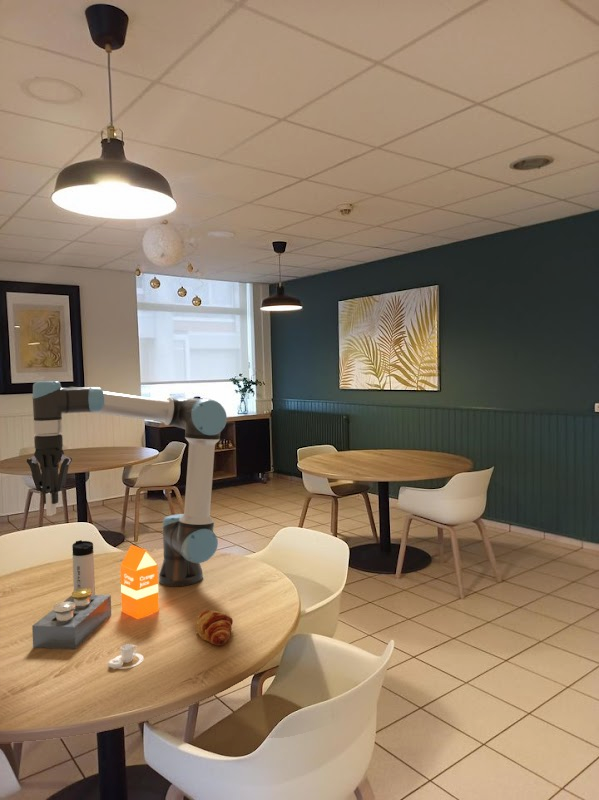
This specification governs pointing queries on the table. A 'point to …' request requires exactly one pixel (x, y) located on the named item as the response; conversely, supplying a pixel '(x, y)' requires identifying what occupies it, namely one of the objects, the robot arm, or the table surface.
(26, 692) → the table surface
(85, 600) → the knob
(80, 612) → the mount
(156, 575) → the orange juice
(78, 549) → the travel mug
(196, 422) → the robot arm
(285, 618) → the table surface
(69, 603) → the knob
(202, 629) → the croissant
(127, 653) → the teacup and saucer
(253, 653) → the table surface
